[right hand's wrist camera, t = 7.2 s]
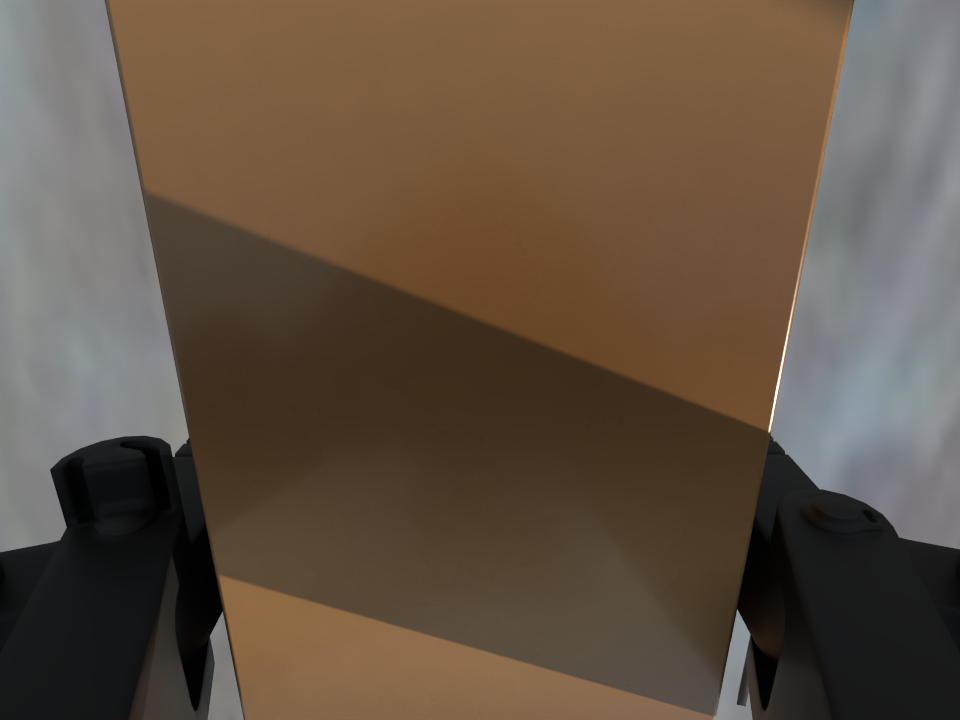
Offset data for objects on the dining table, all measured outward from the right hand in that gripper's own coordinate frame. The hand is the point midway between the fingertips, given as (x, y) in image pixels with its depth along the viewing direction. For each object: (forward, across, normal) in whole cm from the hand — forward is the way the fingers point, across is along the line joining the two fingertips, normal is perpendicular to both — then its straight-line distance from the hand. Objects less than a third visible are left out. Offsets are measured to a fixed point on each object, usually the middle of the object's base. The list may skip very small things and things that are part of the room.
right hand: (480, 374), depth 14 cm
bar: (+1, 0, -13) cm, 13 cm away
